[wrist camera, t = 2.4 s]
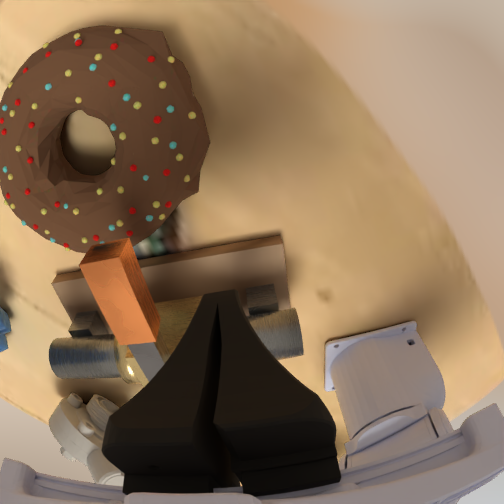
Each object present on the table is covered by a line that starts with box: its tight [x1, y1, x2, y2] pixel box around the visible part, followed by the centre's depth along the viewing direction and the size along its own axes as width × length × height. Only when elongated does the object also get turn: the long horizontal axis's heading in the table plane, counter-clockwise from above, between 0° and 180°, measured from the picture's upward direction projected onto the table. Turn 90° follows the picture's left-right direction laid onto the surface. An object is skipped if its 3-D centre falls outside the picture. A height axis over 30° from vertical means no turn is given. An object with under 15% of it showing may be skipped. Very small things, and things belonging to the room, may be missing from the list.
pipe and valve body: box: [49, 283, 303, 387], centre depth 21 cm, size 18×5×6 cm, turn 98°
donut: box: [0, 26, 210, 253], centre depth 16 cm, size 14×14×5 cm
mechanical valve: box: [49, 393, 124, 486], centre depth 29 cm, size 10×18×15 cm
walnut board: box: [51, 235, 290, 334], centre depth 24 cm, size 18×9×1 cm, turn 98°
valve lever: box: [79, 238, 171, 382], centre depth 15 cm, size 11×2×2 cm, turn 8°
